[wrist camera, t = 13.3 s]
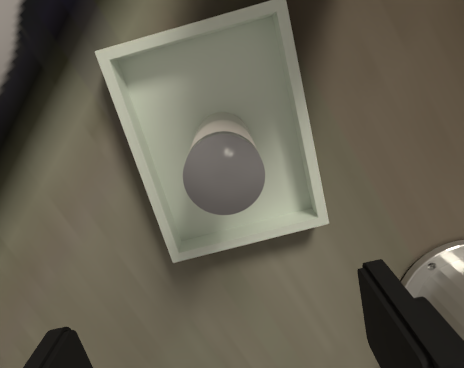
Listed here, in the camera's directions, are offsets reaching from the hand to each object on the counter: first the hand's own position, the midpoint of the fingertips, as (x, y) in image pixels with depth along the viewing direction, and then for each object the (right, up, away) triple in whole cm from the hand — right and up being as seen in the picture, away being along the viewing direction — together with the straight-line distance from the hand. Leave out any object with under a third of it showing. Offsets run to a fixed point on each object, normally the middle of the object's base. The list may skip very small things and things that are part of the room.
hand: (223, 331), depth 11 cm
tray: (-1, +9, +19) cm, 21 cm away
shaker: (0, +8, +18) cm, 20 cm away
